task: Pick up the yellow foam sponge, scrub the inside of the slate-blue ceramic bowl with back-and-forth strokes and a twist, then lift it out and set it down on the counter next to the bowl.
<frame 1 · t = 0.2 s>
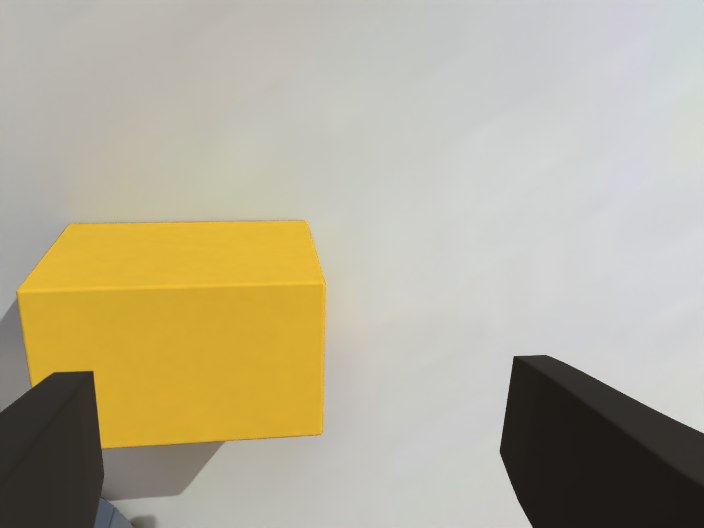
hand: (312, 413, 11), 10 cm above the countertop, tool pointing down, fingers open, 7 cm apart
sponge: (194, 288, 21), on the countertop
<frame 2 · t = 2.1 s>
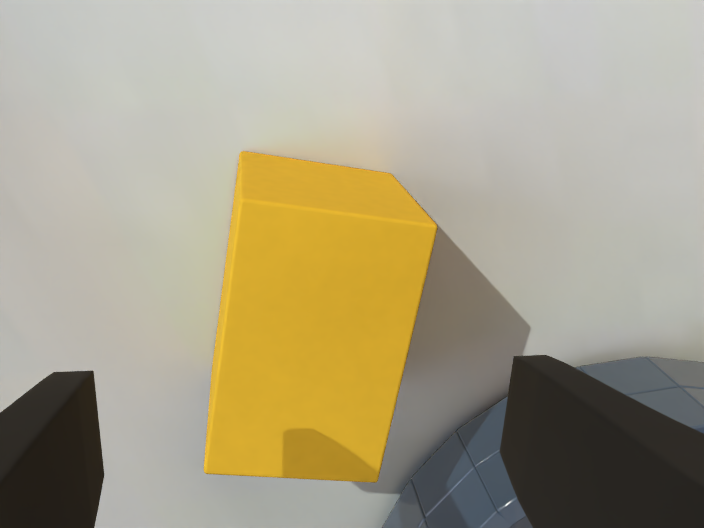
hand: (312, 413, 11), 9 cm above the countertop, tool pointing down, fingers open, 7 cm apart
sponge: (298, 275, 20), on the countertop
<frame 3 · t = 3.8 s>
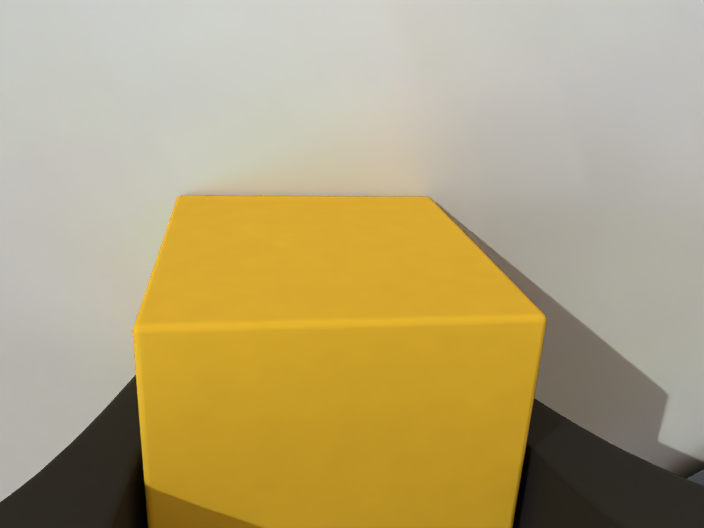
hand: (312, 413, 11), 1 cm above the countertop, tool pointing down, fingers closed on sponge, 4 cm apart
sponge: (303, 372, 13), on the countertop, touching gripper
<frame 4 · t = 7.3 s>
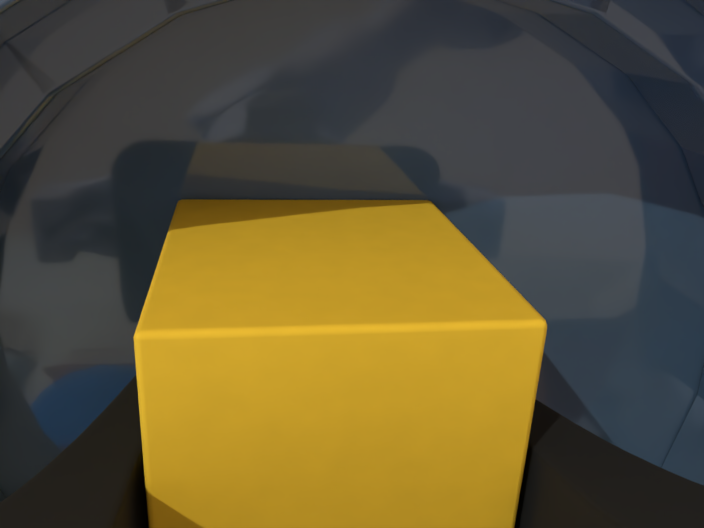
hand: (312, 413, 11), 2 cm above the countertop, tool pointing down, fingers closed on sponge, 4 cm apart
bowl: (361, 365, 14), on the countertop
sponge: (304, 375, 13), point 1 cm above the countertop, touching bowl, gripper
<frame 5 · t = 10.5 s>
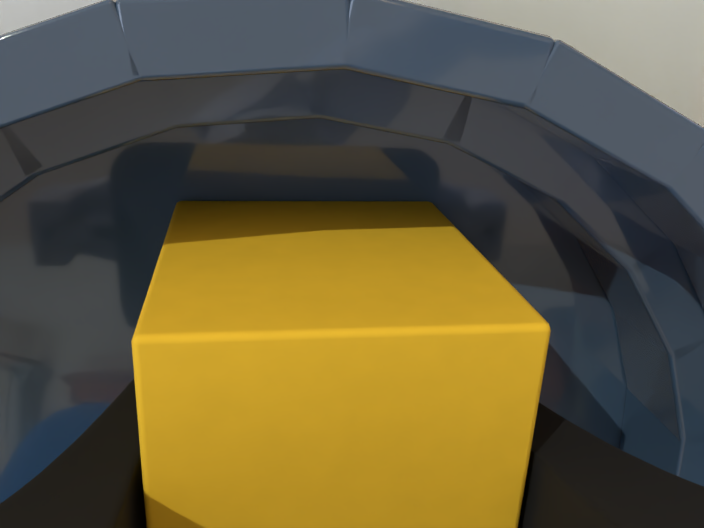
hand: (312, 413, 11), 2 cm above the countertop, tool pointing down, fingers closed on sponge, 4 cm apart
bowl: (281, 451, 14), on the countertop
sponge: (303, 378, 13), point 1 cm above the countertop, touching gripper
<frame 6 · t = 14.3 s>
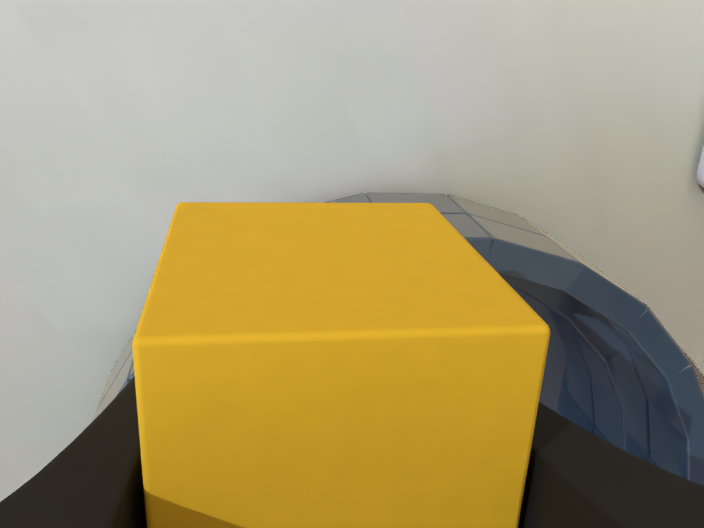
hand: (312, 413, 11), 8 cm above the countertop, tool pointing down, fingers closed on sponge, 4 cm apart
bowl: (378, 445, 22), on the countertop
sponge: (304, 379, 13), point 7 cm above the countertop, touching gripper
when the fingers open (1 cm above the countertop, at t = 17.4 s): sponge stays where it is, on the countertop.
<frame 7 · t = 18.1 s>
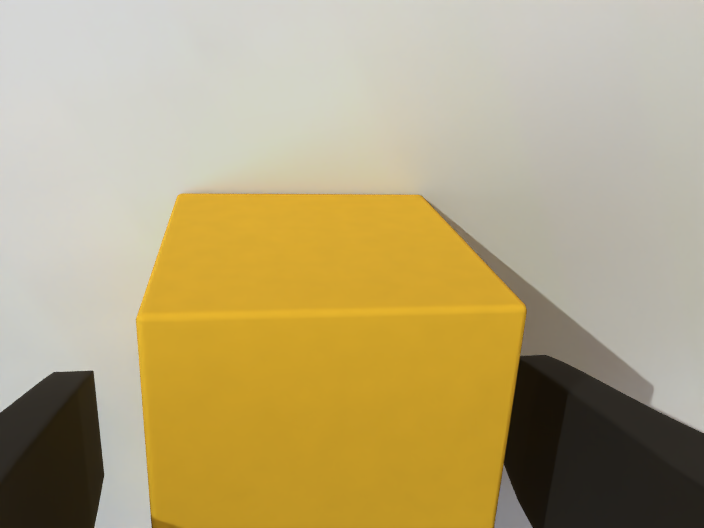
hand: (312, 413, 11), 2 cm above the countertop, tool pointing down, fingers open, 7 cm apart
sponge: (299, 365, 13), on the countertop
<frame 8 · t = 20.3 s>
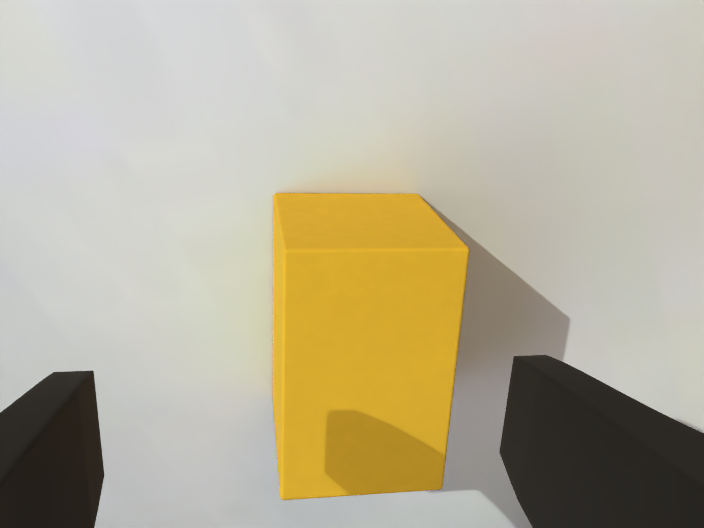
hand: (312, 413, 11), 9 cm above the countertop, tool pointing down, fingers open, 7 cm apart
sponge: (342, 299, 21), on the countertop
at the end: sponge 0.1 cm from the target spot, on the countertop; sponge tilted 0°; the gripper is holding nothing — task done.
